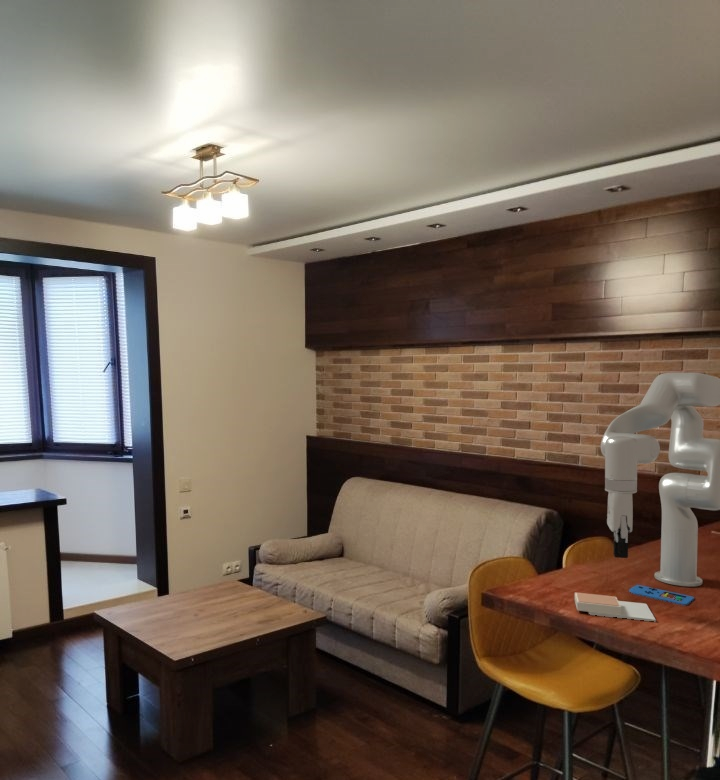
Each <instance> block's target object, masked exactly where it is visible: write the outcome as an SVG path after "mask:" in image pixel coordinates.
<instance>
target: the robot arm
mask: <svg viewBox="0 0 720 780" xmlns="http://www.w3.org/2000/svg"><path fill="white" fill-rule="evenodd" d="M717 406H720V378H719V377H717V376H715V375H710V374H707V373H701V372H665V373H661V374H659V375H657V376H656V377H655V378H654V379H653V381H652V383H651V385H649V388H648V390H647V391H646V392H645V395H644V397H643V399H642V400H641V401H640V403H639V405H636V406H634V407H632V408H631V409H630V408H629V410H626V411H625V412H623V413H621V414H619V415H618V416H617V417H614V419H613V420H612V421H611V422H610V423H609V425H608V427H606V430H605V431H604V434H603V436H602V438H601V440H600V441H601V442H600V452H601V454H602V456H603V457H604V465H605V466H604V491H605V492H608V495H607V514H606V517H607V518H606V524H607V526H608V528H609V530H610V531H611V532H613V556H614V558H621V559H628V558H629V542H628V541H629V540H628V538H629V537H628V536H629V535H628V534H630V533H632V532H633V525H634V524H633V523H634V522H633V521H634V520H633V517H634V515H633V514H634V512H633V509H634V508H633V502H634V501H633V494H636V493H637V492H638V489H637V488H638V464H642V465H643V464H651V463H653V462H654V461H655V460H657V458H658V457H659V455H660V450H661V448H660V443H659V441H658V439H656V438H655V437H654V436H652V435H649V434H643V433H641V434H639V433H640V432H643V431H647V430H652V429H655V428H659V427H662V426H664V425H666V424H668V423H669V421H670V420H671V426H670V427H671V428H670V436H669V444H668V445H669V446H668V461H669V464H670V465H671V466H672V467H674V468H678V469H682V470H692V471H701V472H706V473H707V475H702V474H700V475H699V474H695V473H694V474H692V473H684V472H670V473H666V474H664V475H663V476H661V478H660V480H659V482H658V490H659V491H658V493H659V497H660V504H661V505H660V506H661V528H660V529H661V532H660V533H661V535H660V536H661V537H660V567H659V568H660V570H658V571H655V572H654V578H655V579H656V580H657V581H659V582H662V583H665V584H668V585H674V586H679V587H689V588H690V587H699V586H702V585H703V578H701V577H700V576H697V570H698V568H697V567H698V536H699V535H698V534H699V531H698V530H699V528H698V527H699V524H698V519H697V517H696V515H695V513H694V512H693V511H692V508H694V509H699V510H708V511H720V439H717V438H705V437H704V425H705V423H704V420H703V418H702V415H701V414H700V413H699V412H698V411H697V409H696V408H695V407H717Z"/></svg>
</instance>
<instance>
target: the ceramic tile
mask: <svg viewBox="0 0 720 780" xmlns="http://www.w3.org/2000/svg"><path fill="white" fill-rule="evenodd" d="M618 601H619V600H618V598H617V596H615V595H612V596H611V595H604V594H603V595H602V594H595V593H584V592H574V602H575V603H574V604H575V608H576V610H577V612H578V611H579V612H587V613H588V612H596V613H605V614H614V615H621V606H620V604H619V602H618Z"/></svg>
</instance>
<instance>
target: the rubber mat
mask: <svg viewBox="0 0 720 780" xmlns="http://www.w3.org/2000/svg"><path fill="white" fill-rule="evenodd" d="M618 602H619V604H620V606H621V615H614V614H605V613H596V612H587V613H588V615H589V614H590V615H589V616H595V615H597V617H598V616H599V617H604V616H605V618H613V617H617V618H616V619H622V618H627V619H626V620H631V619H634V620H633V621H640V620H644V621H643V622H649V621H654V622H653V623H656V622H657V619H656V618H655V616H654V614H653V612H652V611H651V609H650V608H649V606H648V604H647V603H643V602H632V601H624V600H623V601H622V600H618Z"/></svg>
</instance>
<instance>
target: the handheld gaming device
mask: <svg viewBox="0 0 720 780" xmlns="http://www.w3.org/2000/svg"><path fill="white" fill-rule="evenodd" d="M628 591H629V593H630V592H631V594H632V593H633V595H636V596H640V595H642V596H641V597H644V596H646V597H645V598H649V597H650V599H653V598H654V599H655V600H658V599H659V601H662V600H663V601H662V602H666V601H668V602H667V603H671V602H672V604H675V603H676V604H675V605H680V604H681V605H680V606H684V605H687V606H688V605H690V603H692V602H693V601H694V600H695V597H694V596H690V595H687V594H683V593H678V592H673V591H668V590H664V589H660V588H659V589H658V588H654V587H652V586H651V587H650V586H646V585H641V584H635V585H634V586H633V587H631V588H629V590H628ZM665 593H666V594H665ZM669 594H671V595H675V596H676V597H675V596H674V597H675V598H676V599H675V598H674V597H673V598H670V597H667V595H669ZM674 599H675V600H674ZM677 600H679V601H677ZM680 600H682V601H680ZM691 601H692V602H691Z"/></svg>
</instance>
